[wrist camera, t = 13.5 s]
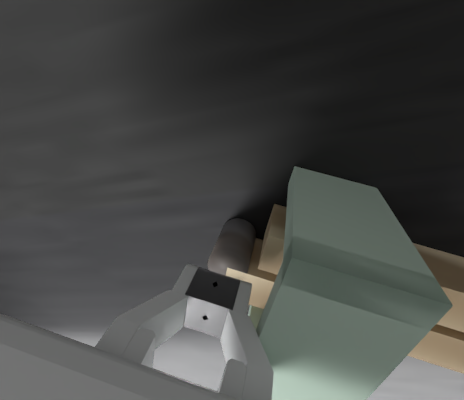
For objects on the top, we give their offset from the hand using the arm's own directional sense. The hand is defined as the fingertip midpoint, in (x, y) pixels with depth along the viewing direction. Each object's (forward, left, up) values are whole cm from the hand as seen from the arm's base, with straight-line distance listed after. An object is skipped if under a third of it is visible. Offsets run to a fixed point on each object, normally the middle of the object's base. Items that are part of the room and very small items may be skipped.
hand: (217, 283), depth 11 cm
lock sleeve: (0, -4, -4) cm, 6 cm away
